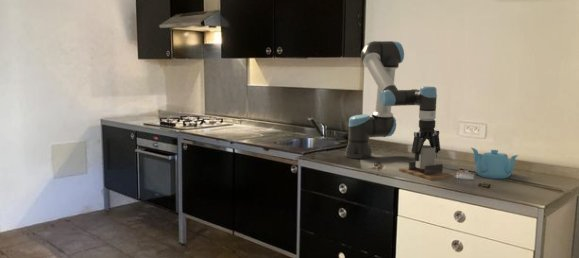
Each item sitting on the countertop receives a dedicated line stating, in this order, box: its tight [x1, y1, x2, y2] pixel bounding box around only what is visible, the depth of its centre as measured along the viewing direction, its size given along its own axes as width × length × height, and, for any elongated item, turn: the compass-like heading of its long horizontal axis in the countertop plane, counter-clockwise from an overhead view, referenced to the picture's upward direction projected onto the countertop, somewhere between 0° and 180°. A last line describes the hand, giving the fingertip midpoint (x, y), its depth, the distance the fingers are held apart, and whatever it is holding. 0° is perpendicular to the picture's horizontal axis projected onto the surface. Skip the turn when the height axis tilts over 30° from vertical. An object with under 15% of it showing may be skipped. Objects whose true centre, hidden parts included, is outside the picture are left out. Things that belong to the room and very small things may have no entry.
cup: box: [417, 144, 436, 169], centre depth 233 cm, size 8×8×10 cm
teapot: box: [470, 147, 519, 180], centre depth 230 cm, size 17×19×12 cm
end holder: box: [398, 160, 454, 181], centre depth 233 cm, size 22×14×5 cm, turn 27°
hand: (425, 166), depth 233 cm, fingers closed on cup, 8 cm apart
